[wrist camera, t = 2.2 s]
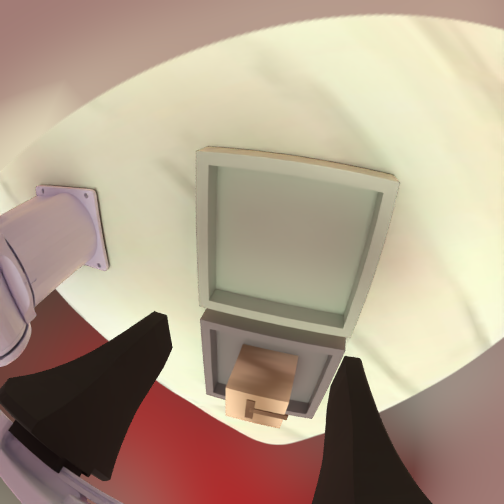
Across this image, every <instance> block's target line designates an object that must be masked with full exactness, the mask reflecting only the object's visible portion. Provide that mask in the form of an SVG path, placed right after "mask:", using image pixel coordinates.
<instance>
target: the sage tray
mask: <svg viewBox="0 0 504 504" xmlns="http://www.w3.org/2000/svg"><path fill="white" fill-rule="evenodd" d="M399 184H400V182H399V181H398V180H397V178H396V177H395V176H394V175H392V174H388V173H383V172H379V171H375V170H370V169H365V168H361V167H356V166H351V165H346V164H341V163H335V162H330V161H324V160H318V159H312V158H306V157H300V156H293V155H286V154H279V153H271V152H263V151H254V150H244V149H234V148H223V147H209V146H208V147H205V148H203V149H200V150H197V151H196V236H197V268H198V290H199V306H200V307H204V308H208V309H212V310H216V311H220V312H224V313H229V314H233V315H237V316H241V317H246V318H250V319H255V320H259V321H264V322H268V323H273V324H278V325H282V326H287V327H292V328H297V329H303V330H308V331H313V332H318V333H324V334H330V335H335V336H341V337H347V338H351V336H352V333H353V331H354V328H355V326H356V323H357V321H358V318H359V316H360V313H361V310H362V308H363V305H364V302H365V300H366V297H367V294H368V291H369V289H370V286H371V283H372V280H373V277H374V274H375V271H376V268H377V265H378V262H379V259H380V255H381V252H382V249H383V246H384V242H385V239H386V235H387V232H388V228H389V225H390V221H391V217H392V213H393V209H394V205H395V201H396V197H397V193H398V189H399Z"/></svg>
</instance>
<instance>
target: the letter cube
mask: <svg viewBox="0 0 504 504" xmlns="http://www.w3.org/2000/svg"><path fill="white" fill-rule="evenodd" d="M297 361H298V356H297V355H292V354H287V353H282V352H277V351H272V350H268V349H263V348H259V347H255V346H250V345H246V344H243V345H242V348H241V350H240V353H239V355H238V358H237V360H236V363H235V365H234V368H233V370H232V373H231V375H230V378H229V380H228V383H227V385H226V416H230V417H233V418H237V419H241V420H245V421H249V422H253V423H257V424H261V425H266V426H271V427H275V428H280V426H281V423H282V420H283V419H284V420H287V418H288V414H285V412H286V409H287V407H288V404H289V400H290V396H291V391H292V386H293V381H294V376H295V371H296V366H297Z"/></svg>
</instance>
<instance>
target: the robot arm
mask: <svg viewBox="0 0 504 504" xmlns="http://www.w3.org/2000/svg"><path fill="white" fill-rule="evenodd" d="M36 194H37V196H35V197H33V198H31V199H30V200H28V201H26V202H24V203H22V204H20V205H18V206H16V207H15V208H13V209H11V210H9V211H7V212H6V213H4V214H2V215H1V216H0V367H1V366H5V365H7V364H9V363H11V362H12V361H14V360H15V359H16V358H17V357H18V356H19V355H20V354H21V353H22V352H23V350H24V349H25V347H26V345H27V343H28V340H29V338H30V335H31V325H30V322H31V321H32V320H33V319H34V318H35V317H36V313H35V311H34V307H35V306H36V305H37V304H39V303H40V302H41V301H42V300H43V299H44V298H45V297H46V296H47V295H48V294H50V293H51V292H52V291H53V290H54V289H55V288H57V287H58V286H59V285H60V284H61V283H62V282H63V281H65V280H66V279H67V278H68V277H69V276H71V275H72V274H73V273H74V272H75V271H77V270H78V269H79V268H80V267H81V266H83V265H87V266H91V267H94V268H97V269H100V270H103V271H106V270H107V269H108V268H109V265H108V260H107V255H106V250H105V245H104V240H103V234H102V228H101V222H100V216H99V209H98V202H97V195H96V192H95V191H94V190H93V189H84V188H72V187H60V186H46V185H38V186H37V187H36ZM87 194H88V195H87ZM171 350H172V342H171V337H170V331H169V325H168V319H167V315H165V314H161V313H158V312H155V311H154V312H153V313H151V314H150V315H148V316H147V317H145V318H144V319H142V320H141V321H139V322H138V323H136V324H135V325H133V326H132V327H130V328H129V329H127V330H126V331H124V332H123V333H121V334H120V335H118V336H117V337H115V338H114V339H112V340H110V341H109V342H107V343H105V344H104V345H102V346H100V347H99V348H97V349H95V350H93V351H92V352H90V353H88V354H86V355H84V356H82V357H80V358H77V359H75V360H73V361H71V362H68V363H66V364H63V365H60V366H58V367H55V368H52V369H49V370H46V371H42V372H38V373H35V374H30V375H26V376H19V377H13V378H9V379H8V380H7V382H5V384H4V385H3V386H2V387H1V389H0V404H1V405H2V406H3V407H4V408H5V409H6V410H7V411H8V412H9V414H11V416H12V417H13V418H14V419H15V421H14V423H13V422H12V421H11V420H10V419H9V418H8V417H7V416H6V415H5V414H3V412H2V411H1V410H0V477H1V478H2V479H3V481H4V482H5V483H6V484H7V486H8V487H9V488H10V490H11V491H12V492H13V493H14V494H15V496H16V497H17V498H18V499H19V500H20V502H21V503H22V504H90V503H88V502H87V498H88V499H90V500H92V501H93V502H95V503H96V504H123V503H122V502H120V501H118V500H116V499H114V498H112V497H110V496H109V495H107V494H105V493H103V492H102V491H100V490H98V489H97V488H95V487H93V486H92V485H90V484H89V483H87V482H86V481H84V480H83V479H81V478H80V475H81V474H84V475H85V476H87V477H89V476H90V475H91V474H92V475H94V476H95V477H97V478H98V479H100V480H102V481H108V480H110V479H111V475H112V472H113V468H114V465H115V461H116V459H117V456H118V453H119V450H120V447H121V445H122V442H123V440H124V437H125V435H126V433H127V430H128V428H129V426H130V423H131V422H132V419H133V417H134V415H135V413H136V411H137V409H138V408H139V406H140V404H141V402H142V401H143V399H144V398H145V396H146V395H147V393H148V391H149V390H150V388H151V387H152V385H153V384H154V382H155V380H156V379H157V377H158V376H159V374H160V372H161V371H162V369H163V368H164V365H165V363H166V361H167V359H168V357H169V355H170V352H171ZM86 497H87V498H86ZM312 504H432V503H431V502H430V500H429V499H428V498H427V497H426V496H425V494H424V493H423V492H422V491H421V489H420V488H419V487H418V485H417V484H416V482H415V481H414V480H413V478H412V476H411V475H410V473H409V472H408V470H407V469H406V467H405V466H404V464H403V462H402V461H401V459H400V457H399V455H398V454H397V452H396V450H395V448H394V446H393V444H392V442H391V440H390V438H389V436H388V434H387V431H386V429H385V427H384V425H383V423H382V420H381V418H380V415H379V412H378V410H377V407H376V404H375V402H374V399H373V396H372V393H371V391H370V387H369V384H368V381H367V378H366V375H365V372H364V368H363V365H362V361H361V359H360V358H355V357H349V356H344V359H343V361H342V363H341V365H340V367H339V369H338V372H337V374H336V376H335V378H334V380H333V382H332V384H331V387H330V393H329V398H328V404H327V413H326V427H325V440H324V452H323V460H322V466H321V470H320V475H319V479H318V483H317V487H316V491H315V494H314V498H313V501H312Z"/></svg>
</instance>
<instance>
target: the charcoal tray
mask: <svg viewBox="0 0 504 504" xmlns="http://www.w3.org/2000/svg"><path fill="white" fill-rule="evenodd" d="M200 324H201V338H202V351H203V363H204V374H205V384H206V394H207V395H210V396H214V397H217V398H221V399H224V400H226V385H227V383H228V380H229V378H230V375H231V373H232V370H233V368H234V365H235V363H236V360H237V358H238V355H239V353H240V350H241V348H242V345H243V344H246V345H250V346H255V347H259V348H263V349H268V350H272V351H277V352H282V353H287V354H292V355H297V356H298V361H297V366H296V371H295V376H294V381H293V386H292V391H291V396H290V400H289V404H288V407H287V409H286V412H285V414H288V415H293V416H298V417H304V418H310V419H312V418H313V416H314V414H315V412H316V410H317V408H318V406H319V405H320V403H321V401H322V399H323V397H324V395H325V393H326V391H327V389H328V387H329V385H330V383H331V380H332V378H333V376H334V374H335V372H336V370H337V368H338V365H339V363H340V361H341V359H342V357H343V354H344V352H345V337H341V336H335V335H330V334H324V333H318V332H313V331H308V330H303V329H297V328H292V327H287V326H282V325H278V324H273V323H268V322H264V321H259V320H255V319H250V318H246V317H241V316H237V315H233V314H229V313H224V312H220V311H216V310H212V309H208V308H207V309H206V310H205V312H204V314H203V315H202V317H201V319H200Z"/></svg>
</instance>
